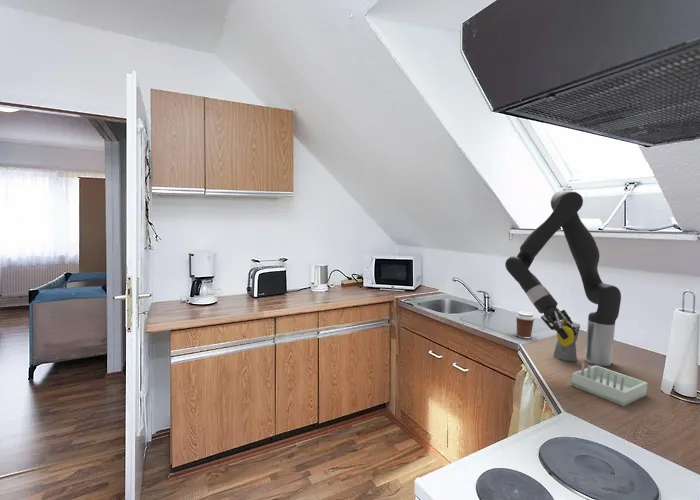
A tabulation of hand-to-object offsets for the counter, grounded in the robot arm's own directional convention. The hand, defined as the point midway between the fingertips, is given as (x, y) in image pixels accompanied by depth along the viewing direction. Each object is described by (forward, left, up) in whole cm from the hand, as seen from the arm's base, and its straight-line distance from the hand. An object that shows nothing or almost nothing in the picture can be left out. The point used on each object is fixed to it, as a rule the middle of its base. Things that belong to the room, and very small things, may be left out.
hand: (570, 336), depth 131 cm
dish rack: (-3, +12, -16) cm, 20 cm away
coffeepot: (-21, -13, -16) cm, 29 cm away
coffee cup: (-30, -38, -16) cm, 51 cm away
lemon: (0, -2, -4) cm, 5 cm away
